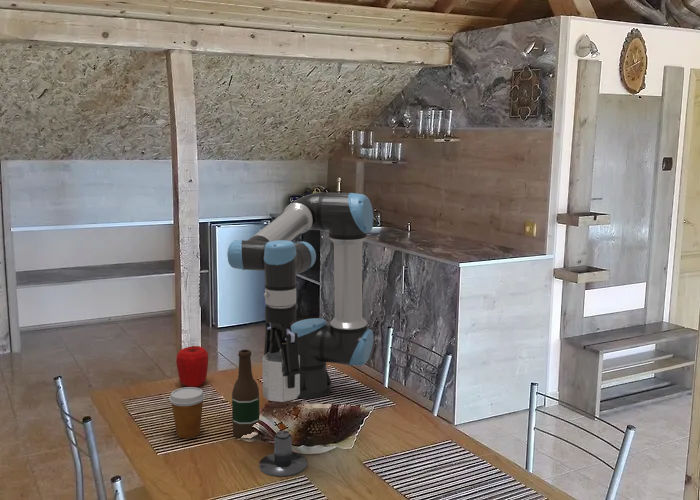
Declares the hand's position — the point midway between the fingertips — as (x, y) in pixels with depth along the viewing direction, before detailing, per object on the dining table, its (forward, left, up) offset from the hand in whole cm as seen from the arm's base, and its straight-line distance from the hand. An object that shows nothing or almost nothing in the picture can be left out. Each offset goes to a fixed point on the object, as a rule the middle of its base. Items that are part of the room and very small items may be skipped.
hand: (281, 393), depth 175 cm
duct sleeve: (0, 0, 0) cm, 0 cm away
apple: (+2, -66, -19) cm, 69 cm away
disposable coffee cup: (+15, -30, -19) cm, 39 cm away
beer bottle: (+1, -22, -19) cm, 29 cm away
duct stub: (0, 0, -19) cm, 19 cm away
